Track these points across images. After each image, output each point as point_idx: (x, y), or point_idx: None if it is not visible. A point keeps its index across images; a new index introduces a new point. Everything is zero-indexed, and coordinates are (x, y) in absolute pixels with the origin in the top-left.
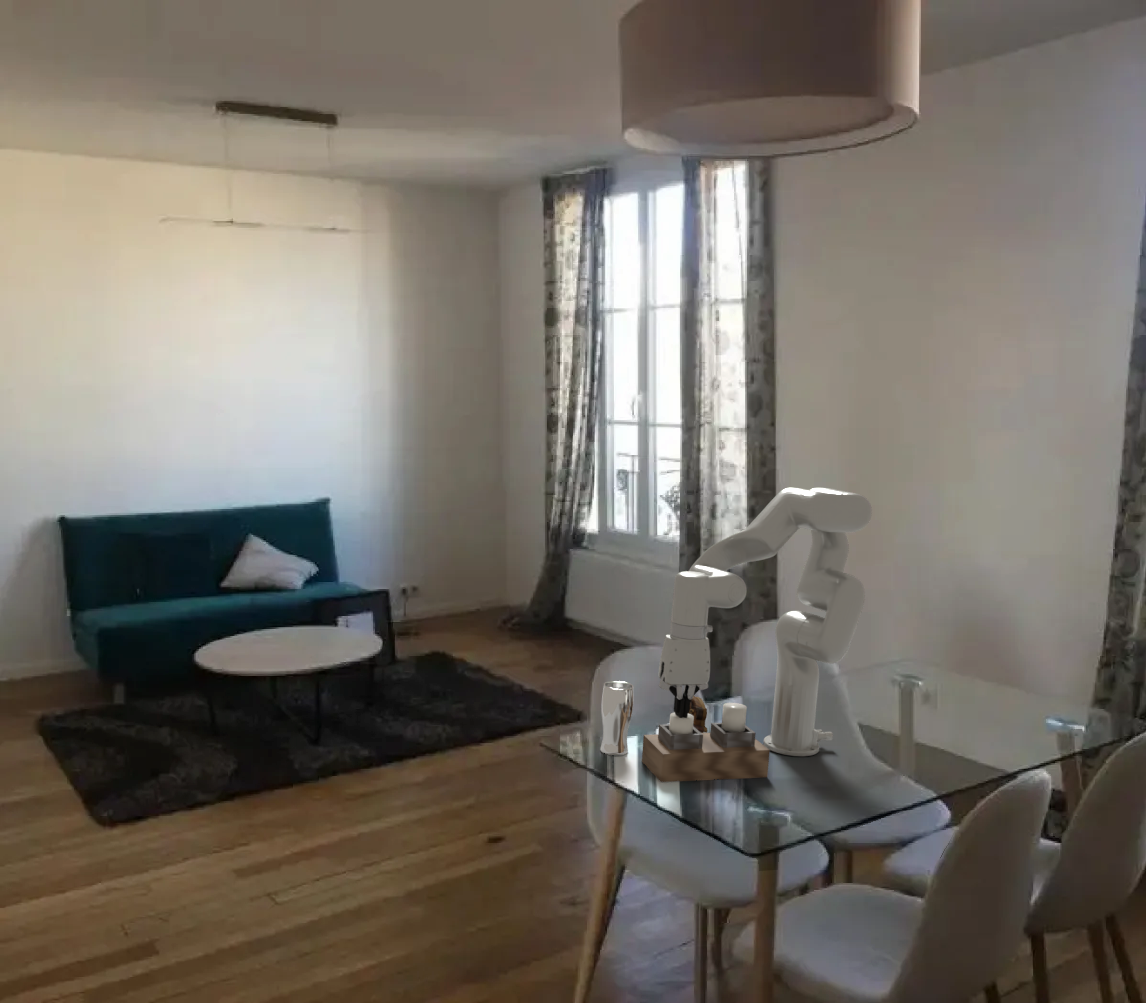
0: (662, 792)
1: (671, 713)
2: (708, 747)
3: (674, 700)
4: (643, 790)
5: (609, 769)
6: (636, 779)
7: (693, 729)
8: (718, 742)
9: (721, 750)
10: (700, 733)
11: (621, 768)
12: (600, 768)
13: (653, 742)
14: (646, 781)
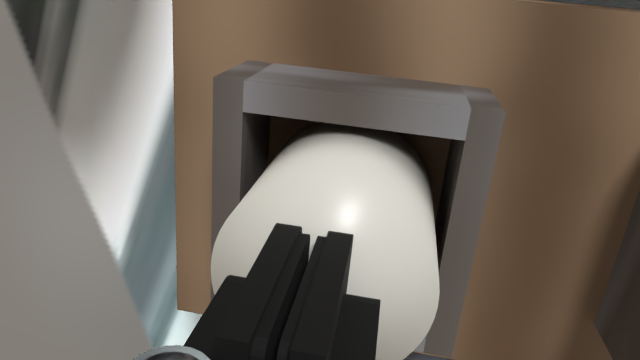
0: (197, 321)
1: (248, 202)
2: (498, 296)
3: (189, 339)
4: (132, 286)
5: (50, 40)
6: (138, 181)
7: (444, 246)
8: (620, 258)
9: (547, 358)
10: (446, 333)
11: (108, 40)
12: (12, 17)
13: (188, 130)
14: (173, 212)
